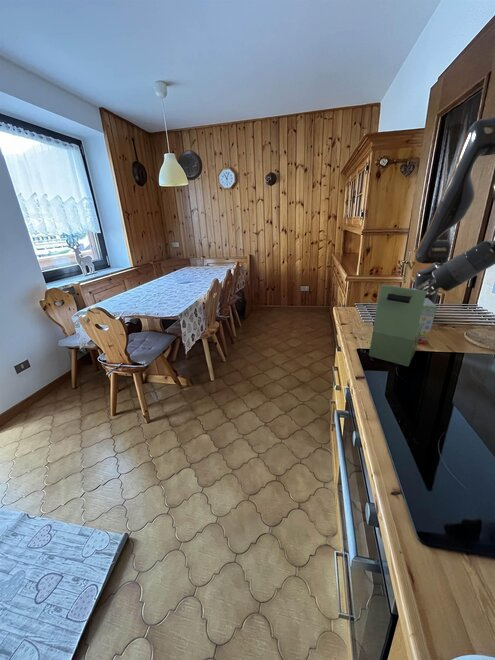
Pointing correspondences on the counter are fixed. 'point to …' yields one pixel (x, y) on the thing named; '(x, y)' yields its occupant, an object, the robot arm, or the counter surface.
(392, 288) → the bin lid
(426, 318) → the snack box
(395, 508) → the counter surface
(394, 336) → the bin
